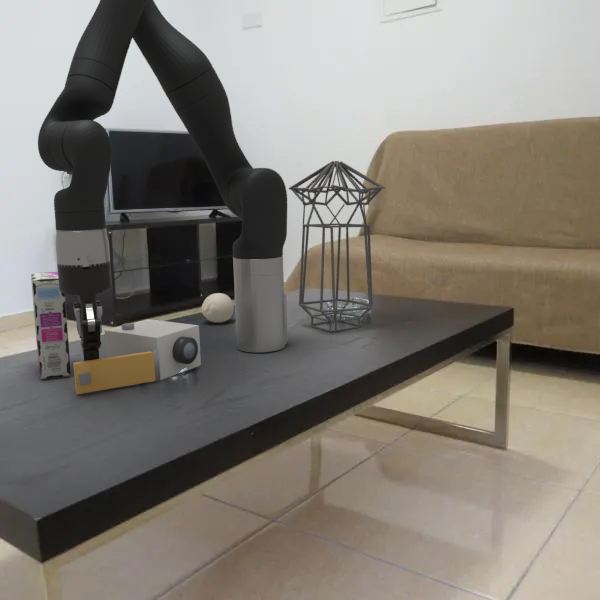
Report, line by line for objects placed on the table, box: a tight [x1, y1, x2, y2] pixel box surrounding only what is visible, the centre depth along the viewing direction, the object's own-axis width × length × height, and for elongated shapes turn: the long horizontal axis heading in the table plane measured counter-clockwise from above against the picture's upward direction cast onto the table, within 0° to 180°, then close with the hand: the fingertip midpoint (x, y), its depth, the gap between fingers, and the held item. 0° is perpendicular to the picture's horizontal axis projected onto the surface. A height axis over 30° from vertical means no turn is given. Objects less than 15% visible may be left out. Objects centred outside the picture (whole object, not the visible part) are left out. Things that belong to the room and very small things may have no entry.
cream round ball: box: [201, 292, 235, 324], centre depth 145 cm, size 7×7×7 cm
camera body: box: [103, 318, 202, 381], centre depth 109 cm, size 10×14×8 cm
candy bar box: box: [30, 271, 72, 380], centre depth 109 cm, size 11×5×16 cm, turn 23°
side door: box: [72, 349, 162, 395], centre depth 99 cm, size 13×2×5 cm, turn 120°
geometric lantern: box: [288, 160, 386, 333], centre depth 136 cm, size 16×16×35 cm
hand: (92, 371), depth 100 cm, fingers closed
